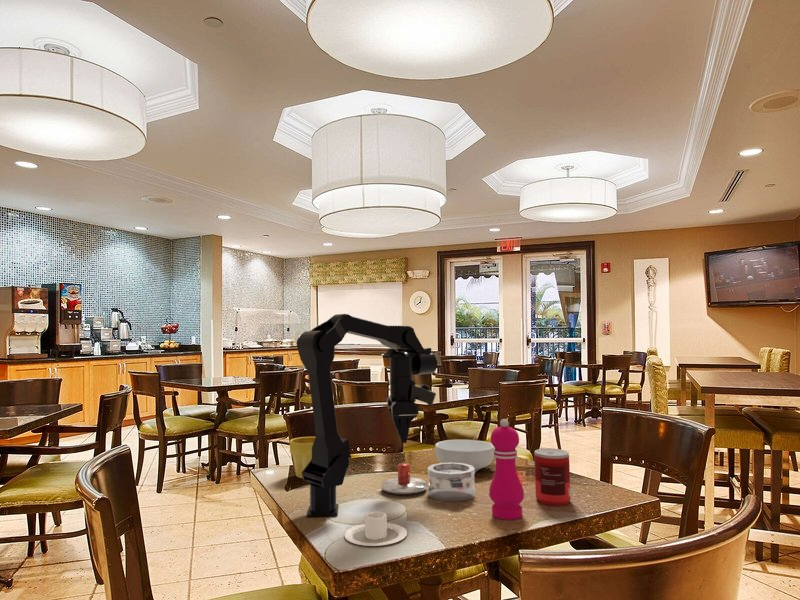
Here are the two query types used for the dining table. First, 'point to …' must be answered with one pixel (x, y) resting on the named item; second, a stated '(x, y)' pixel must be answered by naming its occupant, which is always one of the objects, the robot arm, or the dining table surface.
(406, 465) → the lid
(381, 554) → the dining table surface
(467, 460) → the cereal bowl
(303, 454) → the plant pot
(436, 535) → the dining table surface
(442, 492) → the pot
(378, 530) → the candle holder
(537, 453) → the canned food
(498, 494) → the pepper mill
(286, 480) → the dining table surface
